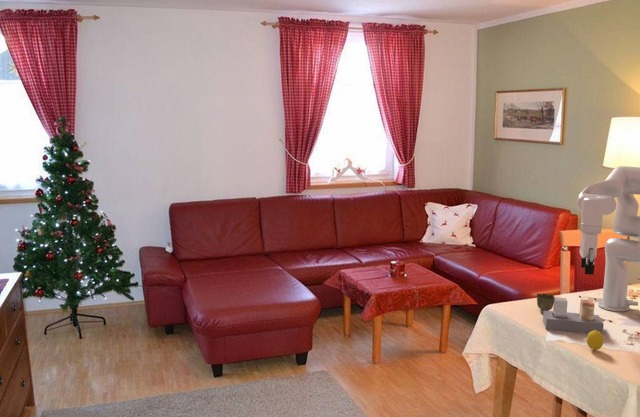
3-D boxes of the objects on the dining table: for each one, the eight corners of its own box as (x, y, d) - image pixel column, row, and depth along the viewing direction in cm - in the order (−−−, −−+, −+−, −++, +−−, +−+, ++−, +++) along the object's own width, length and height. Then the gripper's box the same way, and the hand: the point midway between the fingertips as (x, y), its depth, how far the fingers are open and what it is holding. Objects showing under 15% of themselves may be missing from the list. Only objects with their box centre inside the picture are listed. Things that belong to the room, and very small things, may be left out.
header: (597, 326, 239) (598, 315, 238) (602, 336, 230) (603, 323, 229) (542, 321, 244) (543, 310, 243) (545, 330, 235) (546, 318, 234)
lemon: (594, 354, 212) (596, 333, 211) (582, 348, 217) (584, 328, 216) (605, 352, 214) (607, 331, 213) (593, 346, 219) (595, 326, 218)
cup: (555, 316, 251) (556, 298, 250) (537, 315, 252) (538, 297, 251) (551, 310, 258) (553, 293, 257) (534, 309, 260) (535, 292, 258)
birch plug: (590, 327, 237) (592, 300, 235) (592, 331, 233) (594, 303, 231) (578, 326, 238) (580, 299, 236) (580, 330, 234) (582, 302, 232)
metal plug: (563, 325, 240) (565, 298, 238) (565, 328, 236) (567, 301, 234) (552, 323, 241) (554, 297, 239) (553, 327, 237) (555, 300, 235)
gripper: (577, 224, 238) (574, 264, 241) (583, 232, 222) (579, 276, 225) (597, 225, 236) (593, 266, 239) (605, 233, 220) (601, 277, 223)
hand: (587, 270), depth 232 cm, fingers open, 9 cm apart
